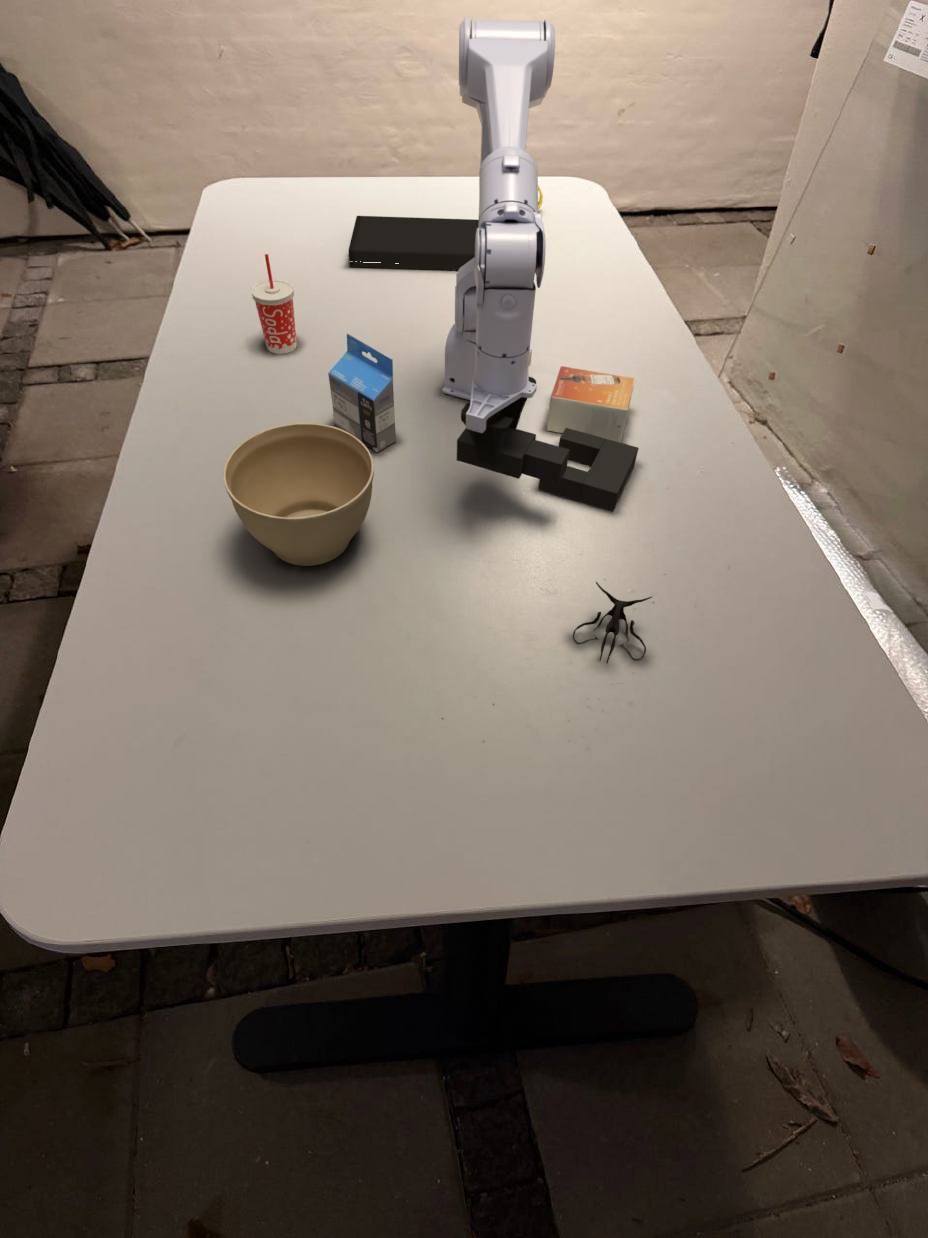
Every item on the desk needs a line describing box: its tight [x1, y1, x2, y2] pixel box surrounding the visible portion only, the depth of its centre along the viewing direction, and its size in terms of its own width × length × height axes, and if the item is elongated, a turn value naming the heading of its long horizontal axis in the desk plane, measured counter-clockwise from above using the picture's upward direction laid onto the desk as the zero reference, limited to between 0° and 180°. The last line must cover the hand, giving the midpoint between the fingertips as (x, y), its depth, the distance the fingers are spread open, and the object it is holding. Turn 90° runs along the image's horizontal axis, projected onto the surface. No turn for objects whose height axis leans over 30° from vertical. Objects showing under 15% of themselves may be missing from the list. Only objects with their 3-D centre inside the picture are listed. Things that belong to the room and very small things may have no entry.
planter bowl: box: [222, 422, 375, 567], centre depth 88 cm, size 16×16×11 cm
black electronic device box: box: [348, 215, 479, 271], centre depth 140 cm, size 14×23×3 cm, turn 89°
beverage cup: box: [250, 253, 298, 355], centre depth 114 cm, size 6×6×14 cm
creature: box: [572, 581, 653, 664], centre depth 82 cm, size 8×5×8 cm
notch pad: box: [538, 428, 639, 512], centre depth 100 cm, size 10×10×3 cm
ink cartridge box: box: [327, 333, 397, 453], centre depth 101 cm, size 9×4×12 cm, turn 47°
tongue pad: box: [456, 427, 570, 484], centre depth 91 cm, size 12×5×3 cm, turn 66°
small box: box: [546, 365, 636, 443], centre depth 107 cm, size 8×6×10 cm
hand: (495, 448), depth 91 cm, fingers closed on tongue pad, 5 cm apart
